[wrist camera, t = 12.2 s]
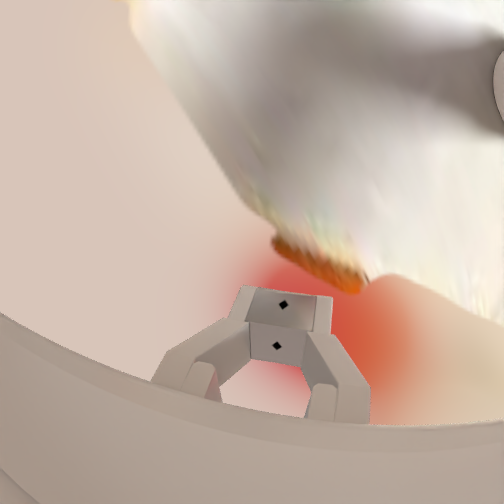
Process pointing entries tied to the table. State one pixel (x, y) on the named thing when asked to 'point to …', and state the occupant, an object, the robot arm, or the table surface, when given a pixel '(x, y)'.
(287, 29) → the table surface
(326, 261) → the table surface
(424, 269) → the table surface
